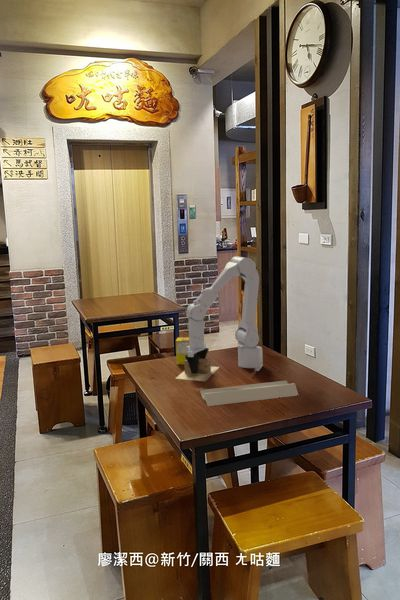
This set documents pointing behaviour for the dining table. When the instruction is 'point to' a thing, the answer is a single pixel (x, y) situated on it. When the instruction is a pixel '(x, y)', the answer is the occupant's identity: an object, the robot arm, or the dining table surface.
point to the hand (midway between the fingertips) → (197, 370)
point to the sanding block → (199, 367)
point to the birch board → (195, 376)
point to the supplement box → (181, 349)
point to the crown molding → (248, 393)
